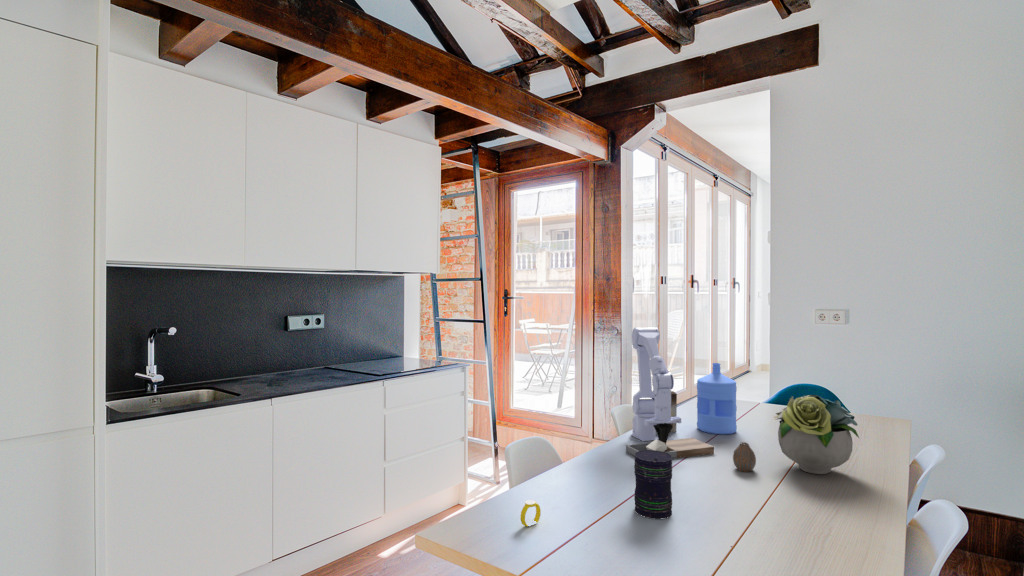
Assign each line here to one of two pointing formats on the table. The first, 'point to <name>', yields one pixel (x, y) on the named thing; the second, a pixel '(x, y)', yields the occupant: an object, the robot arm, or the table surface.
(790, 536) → the table surface
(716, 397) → the water jug
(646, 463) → the storage jar
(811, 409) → the flower arrangement
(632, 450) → the box
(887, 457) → the table surface
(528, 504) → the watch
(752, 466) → the brown oval piece
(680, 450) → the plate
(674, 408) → the coffee box
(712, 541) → the table surface
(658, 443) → the white square block
